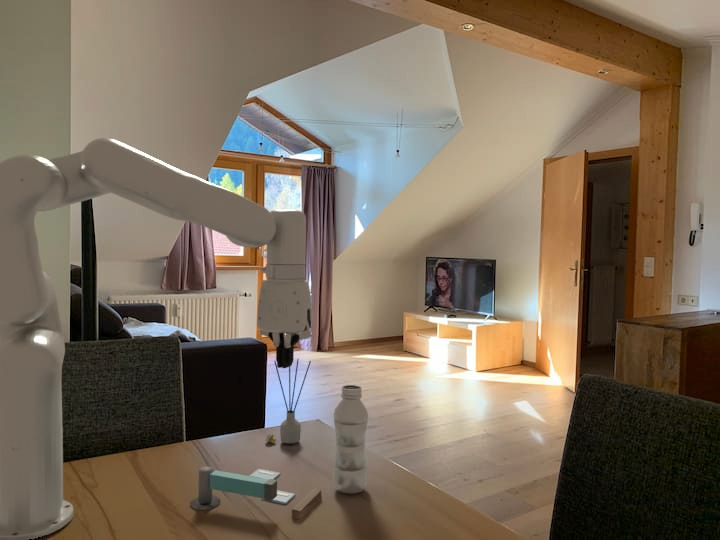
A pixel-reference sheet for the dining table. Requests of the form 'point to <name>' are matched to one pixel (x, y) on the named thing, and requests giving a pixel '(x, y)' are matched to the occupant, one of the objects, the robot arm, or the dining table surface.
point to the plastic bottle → (350, 442)
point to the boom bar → (234, 485)
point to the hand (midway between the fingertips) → (284, 366)
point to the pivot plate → (206, 506)
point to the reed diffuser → (289, 417)
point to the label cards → (281, 496)
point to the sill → (306, 504)
